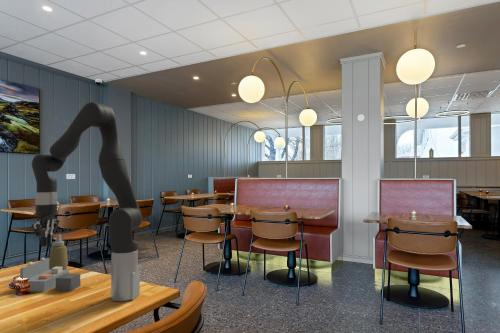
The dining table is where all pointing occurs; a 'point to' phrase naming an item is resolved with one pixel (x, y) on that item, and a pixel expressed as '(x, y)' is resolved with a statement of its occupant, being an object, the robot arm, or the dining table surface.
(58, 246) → the squeeze bottle
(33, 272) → the breaker box
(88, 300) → the dining table surface
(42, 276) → the breaker button
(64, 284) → the grey square block
